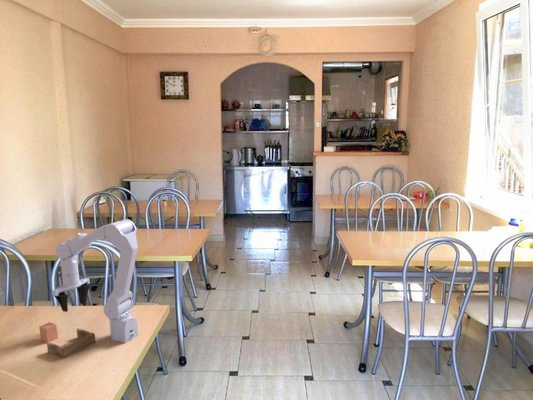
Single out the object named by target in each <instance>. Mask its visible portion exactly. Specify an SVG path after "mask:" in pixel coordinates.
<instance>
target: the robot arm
mask: <svg viewBox="0 0 533 400" xmlns="http://www.w3.org/2000/svg"><path fill="white" fill-rule="evenodd" d="M137 231H138V228H137V227H136V225H135V223H134V222H133V221H132V220H130V219H128V218H125V219H122V220H118V221H115V222H112V223H108V224H105V225H103V226H100V227H99V228H97V229H95V230H93V231H91V232H89V233H85V232H83V233H82V232H78V233H76V234H75V236H74V237H72V238H70V237H69V238H67V239H66V241H65V242H61V243H58V244H57V245H56V246H55V255H56V256H57V257H58V258H59V259H60V268H61V275H62V276H61V278H62V285H60V286H57V288H55V289H52V291H51V292H52V296H54V298H55V299H56V300H57V302H58V304H59V306H60V308H61V311H62V312H64V313H67V312H68V309H69V308H68V299H69V298H68V297H69V295H68V294H66V293H67V292H68V291H71V290H74V289H76V290H77V295H78V300H79V304H81V305H86V300H87V299H86V298H87V295H88V292H89V290H90V286H91V285H90V278H88V277H85V278H81V279H80V274H79V273H80V272H79V264H78V258H79V253H81V252H83V251H86V250H87V249H89V248H91V246H92V244H93V242H96V241H97V240H99V239H100V240H101V239H103V240H107V241H108V242H109V243H110V245H112V246H114V248H116V249H117V250H118V251H120V252H119V253H120V254H119V258H118V263H117V269H116V274H115V279H114V284H113V288H112V289H113V290H112V292H110V294H109V296H108V297H107V301H106V303H104V305H103V313H104V315H105V317H107V319H108V320H109V329H110V330H109V331H110V339H111V340H112V341H114V342H121V343H124V344H126V343H128V342H130V341H132V340H133V339H136V338H138V337H139V333H138V332H139V331H138V321H137V320H136V318H134V317H133V316H132V315H131V314H130V313H131V309H132V308H133V306H134V300H133V295H134V294H133V292H132V291H131V290H130V289H131V283H132V279H133V274H134V269H135V265H136V259H137V255H138V249H139V246H138V239H137Z"/></svg>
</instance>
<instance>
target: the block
mask: <svg viewBox="0 0 533 400" xmlns="http://www.w3.org/2000/svg"><path fill="white" fill-rule="evenodd" d="M57 327H58V326H57V324H56V323H54V322H47V323H45V324H42V325H40V326H39V335H40V341H41V342H44V343H46V344H47V343H48V342H50V343H52V342H53V341H55V340H58V339H59V336H58V328H57Z"/></svg>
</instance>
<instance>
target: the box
mask: <svg viewBox="0 0 533 400" xmlns="http://www.w3.org/2000/svg"><path fill="white" fill-rule="evenodd" d="M76 336H77V337H76V338H74V339H73V340H70V341H69V342H66V343H65V344H62V345H58V344H55V343H52V342H48V343H47V342H46V346H47V353H48V354H51V355H53V356H57V357H58V358H61V359H66V358H68V357H70V356H72V355H74V354H76V353H78V352H81V350H85V349H86V348H87V347H89V346H92V345H93V344H96V335H95V333H94V332H91V331H88V330H85V329H82V328H76Z"/></svg>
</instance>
